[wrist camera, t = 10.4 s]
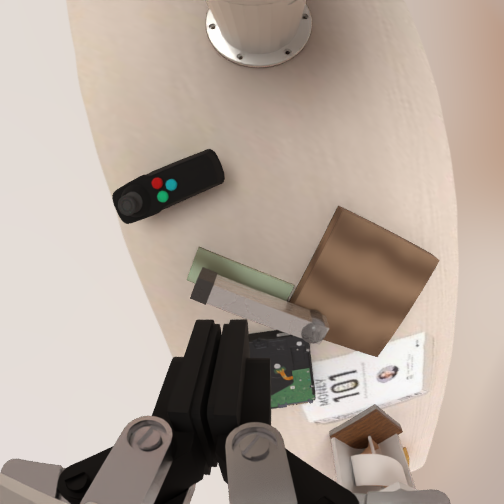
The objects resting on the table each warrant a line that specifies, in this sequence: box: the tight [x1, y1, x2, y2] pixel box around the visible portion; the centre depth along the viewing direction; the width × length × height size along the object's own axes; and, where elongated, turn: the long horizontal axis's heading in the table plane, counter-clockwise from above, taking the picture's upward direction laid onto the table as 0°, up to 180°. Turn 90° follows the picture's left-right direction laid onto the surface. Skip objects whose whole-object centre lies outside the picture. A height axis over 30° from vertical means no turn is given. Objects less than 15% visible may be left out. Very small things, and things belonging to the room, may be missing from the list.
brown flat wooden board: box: [187, 206, 439, 357], centre depth 40 cm, size 17×30×2 cm, turn 67°
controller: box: [113, 149, 225, 224], centre depth 33 cm, size 4×12×10 cm, turn 110°
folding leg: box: [190, 267, 330, 344], centre depth 38 cm, size 17×3×3 cm, turn 67°
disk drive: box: [249, 330, 315, 409], centre depth 46 cm, size 10×3×15 cm
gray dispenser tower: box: [329, 404, 418, 494], centre depth 36 cm, size 11×11×35 cm
